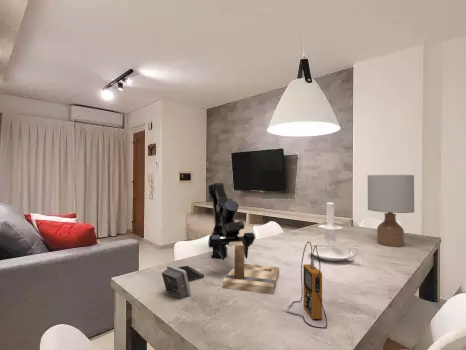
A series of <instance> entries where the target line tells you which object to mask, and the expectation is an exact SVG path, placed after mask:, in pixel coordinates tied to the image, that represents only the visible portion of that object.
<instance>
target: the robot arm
mask: <svg viewBox="0 0 466 350" xmlns="http://www.w3.org/2000/svg"><path fill="white" fill-rule="evenodd" d="M206 191H207V194H208V199H209V200H210V201H211V202H212V211H213V219H214V220H213V221H214V227H213V230H212V232H211V234H210V235H209V238H208V242H207V243H208V248H211V249H212V256H211V258H212V259H221V260H222V261H225V258H226V257H227V256H228V247H227V246H229V244H230V243H237V242H238V243H240V242H242V245H243V246H244V259H246V260H247V258H248V255H249V247H250V246H251V245H253V243H254V241H255V239H256V236H255V234H254V232H244V233H243V235H242V236H239V235H240V231H241V230H244V229H245V223H244V221H243V220H239V221H237V222H236V221H235V218H236V216H237V213H238V211H239V210H238V209H239V207H240V206H239V203H238V202H237V201H235V200H233V198H228V196H227V194H226V191H225V186H224V183H223V182H214V183H212V184H209V185H208V186H207V189H206Z"/></svg>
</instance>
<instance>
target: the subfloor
mask: <svg viewBox="0 0 466 350" xmlns="http://www.w3.org/2000/svg"><path fill="white" fill-rule="evenodd" d="M234 271H235V265H234V266H233V268H232V269H231V270H230V271H229V272H228V274H227V275H226V276H225V277H224V279H223V280H222V289H229V290H237V291H244V292H245V291H246V292H251V293H259V294H260V293H261V294H266V295H268V294H269V295H274V294H275V293H274V292H275V289H276V287H277V282H278V279H279V275H280V267H279V266H268V265H259V264H250V263H244V278H242V279H237V278H235V277H234Z"/></svg>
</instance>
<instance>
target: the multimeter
mask: <svg viewBox="0 0 466 350" xmlns="http://www.w3.org/2000/svg"><path fill="white" fill-rule="evenodd" d="M308 244H309V245H310V248H311V253H310V263H309V264H308V263H307V264H303V261H304V256H305V251H306V248H307V245H308ZM313 247H314V249H315V247H316V251H317V247H318V246H317V245H315V246H312V244H311V241H307V242H306V243H305V246H304V248H303V252H302V257H301V265H300V276H301V277H300V280H301V283H300V284H301V285H302V287H301V299H300V300H295V301H292V302H291V303H290V304H289V305H288V307H287V310H286V309H284V308H281V310H282V311H284V312H287V313H290V314H293V315H298V316H300V317H302V318H303V322H304V323H306V324H307V325H308V326H310V327H313V328H318V329H326V328H327V327H328V319H327V315H326V311H325V309H324V305H323V273H322V271H321V258H319V255H318V252H317V255H318V257H317V258H318V265H319V269H318V268H317V267H316V266H315V259H314V257H313V254H312V248H313ZM314 249H313V252H314ZM301 302H303V308H304V310H306V312H307V314H308V315H309V316H310V318H311V320H322V319H323V313H324V317H325V324H326V325H325V326H317V325H316V326H315V325H311V324H310V323H308V322H307V321H306V320H305V316H303V315H302V314H299V313H296V312H295V311H291V310H289V308H291V307H292V306H293V304H294V303H301Z"/></svg>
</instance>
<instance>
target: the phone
mask: <svg viewBox="0 0 466 350" xmlns="http://www.w3.org/2000/svg"><path fill="white" fill-rule="evenodd" d="M177 268H180V269H183V270H185V271H186V273H187V278H188V282H189V283H191V282H194V281H198V280H201V279H204V278H205V274H203V273H201V272H200V271H198V270H196V269H194V268H192V267H190V266H189V265H183V266H178V267H177Z"/></svg>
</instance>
